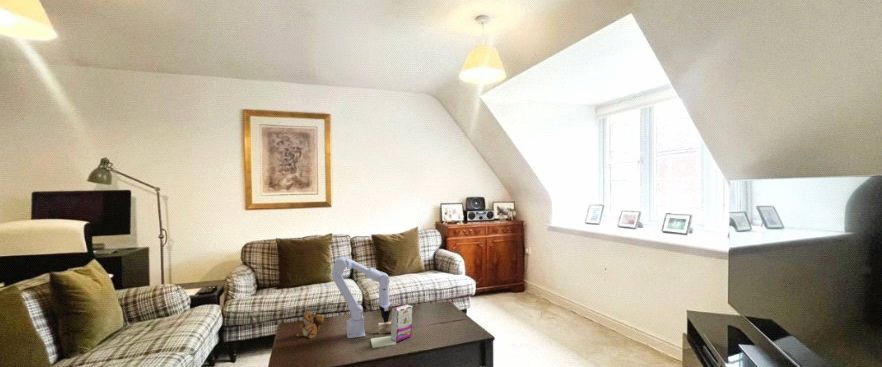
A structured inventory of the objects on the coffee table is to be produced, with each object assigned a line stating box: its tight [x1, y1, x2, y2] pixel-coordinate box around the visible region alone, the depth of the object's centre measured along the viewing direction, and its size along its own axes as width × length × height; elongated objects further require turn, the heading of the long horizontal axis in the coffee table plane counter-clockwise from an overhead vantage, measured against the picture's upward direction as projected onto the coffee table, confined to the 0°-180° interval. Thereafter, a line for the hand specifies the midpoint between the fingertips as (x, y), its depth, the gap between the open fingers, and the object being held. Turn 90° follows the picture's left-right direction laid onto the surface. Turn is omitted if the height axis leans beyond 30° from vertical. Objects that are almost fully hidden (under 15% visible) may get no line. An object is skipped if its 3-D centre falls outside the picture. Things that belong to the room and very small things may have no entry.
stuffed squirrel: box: [296, 310, 325, 339], centre depth 211 cm, size 10×14×13 cm
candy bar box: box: [390, 304, 414, 343], centre depth 202 cm, size 11×5×16 cm, turn 140°
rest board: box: [370, 335, 397, 349], centre depth 198 cm, size 12×10×1 cm
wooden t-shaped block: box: [377, 319, 392, 334], centre depth 212 cm, size 8×7×5 cm
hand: (384, 319), depth 212 cm, fingers open, 7 cm apart
